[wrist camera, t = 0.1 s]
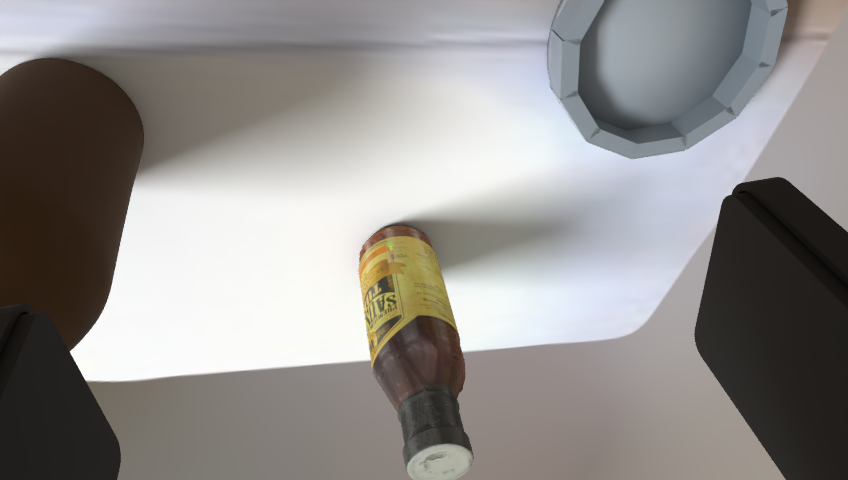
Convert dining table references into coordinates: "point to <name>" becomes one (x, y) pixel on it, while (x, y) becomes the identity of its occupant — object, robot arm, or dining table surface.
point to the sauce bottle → (416, 350)
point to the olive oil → (63, 189)
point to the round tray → (659, 67)
